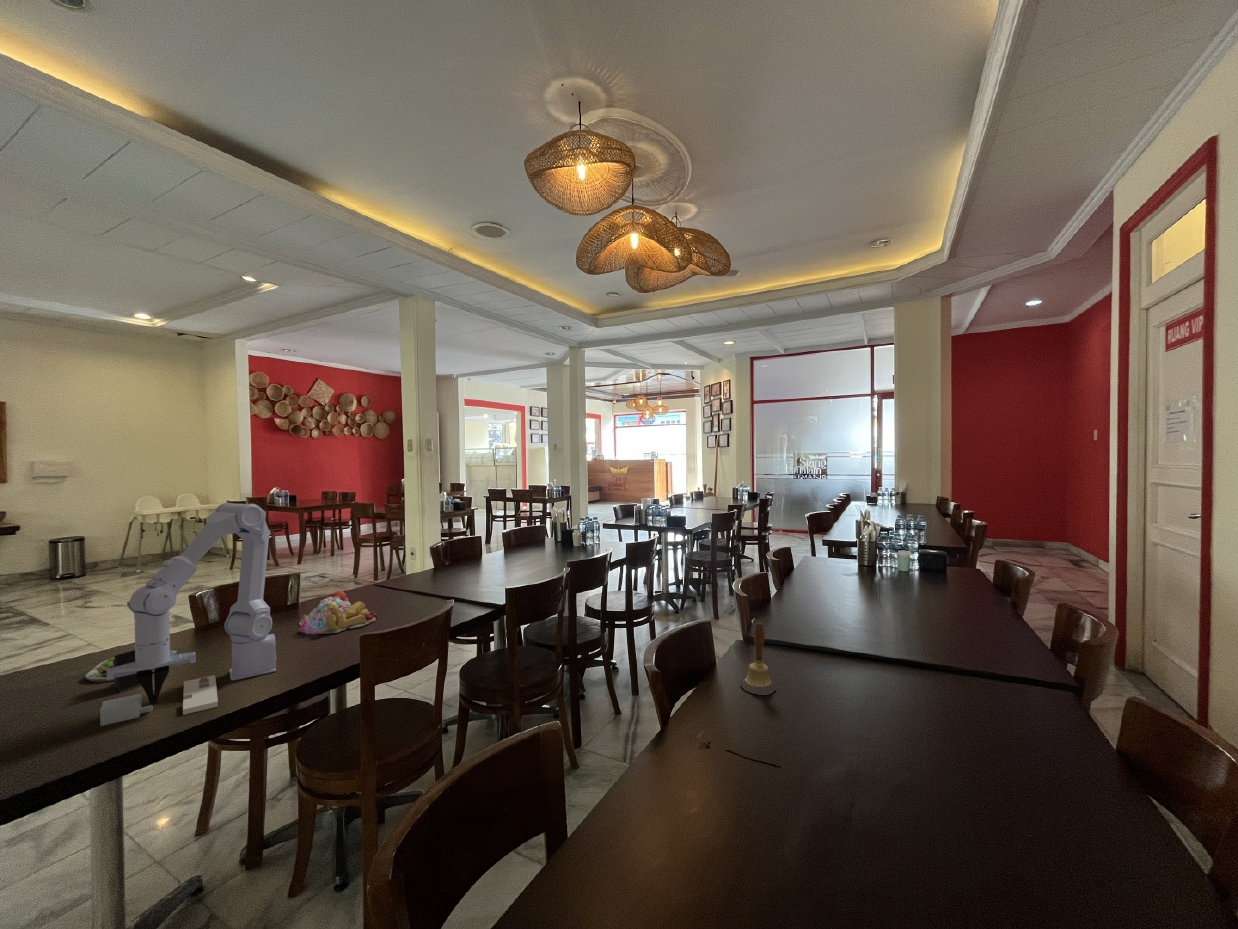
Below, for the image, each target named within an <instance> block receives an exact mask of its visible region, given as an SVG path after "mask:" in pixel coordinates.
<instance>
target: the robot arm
mask: <svg viewBox="0 0 1238 929" xmlns="http://www.w3.org/2000/svg"><path fill="white" fill-rule="evenodd" d="M266 516H267V511H265V510H263V508H261V507H260V506H259V505H258V504H256V503H232V502H223V503H222V504H220V505H218V506H217V507H216V509H215V510H214V511H213V512H212V513H211V514H209V516H208V519H207V522H206V524H205V525H204V526H203V528H202V529H201V530H200V531H199V532H198V533H197V535H196V536H195V537H194V538H193V540H192V541H191V542H190V543H189V545H188V546H187V548H185V550H184V551H183V553H181V555H178V556H177V555H176V556H173V557H170V559H168V560H167V559H166V560H164V561H163V563H162V564H161V566H162V567H161V568H160V569H159V570H158V571H157V573H156V574H154V576H153V577H152V578H151V579H150V580H148V581H146V583H145V586H141V587H139V588H138V589H136V590H135V591H134V592H133V593H132V594H131V596H130V599H129V601H127V602H126V605H127V608H128V609H129V610H130V611H131V612H132V613H133V618H134V650H135V662H132V663H128V664H125V665H121V666H117V667H113V668H108V669H107V671H106V677H107V680H111V679H114V678H116V677H121V676H126V675H131V674H136V673H137V680H138V682H139V683H140V684H141V687H142V689H143V690H144V692H145V695H146V696H147V699H148V703H149V705H148V706H151V705H155V704H158V703H159V697H160V693H161V690H162V687H163V684H164V682H165V681H166V679H167V677H168V675H169V673H170V667H175V666H180V665H184V664H195V663H196V661H197V660H196V659H197V658H196V651H192V652H186V653H185V652H184V653H182V654H175V655H170V650H171V639H170V638H171V636H170V635H171V634H170V610H171V609H172V608H173V607H174V606H175V605H176V603H177V596H178V594H179V591H180V590H181V589H182V588H183V587H184V585H186V583H187V582H188V581H189V580H190V579H191V578H192V576H194V574H195V573H196V572H197V570H198V567H197V563H198V562H199V561H200V559H202V557H204V555H205V554H207V552H208V551H210V549H211V548H213V546H214V545H216V543H217V542H218V541H220V539H221V538H222V537H224V536H228V535H232V534H236V535H237V536H238V537H240V539H242V541H243V542H242V550H241V551H242V553H241V561H240V568H239V570H240V571H239V582H238V592H237V601H236V602H234V603H233V604H232V605H231V606H230V608H229V613H228V616H227V617H226V620H225V621H224V630H225V632H226V633H227V635H230V640H231V668H230V669H229V676H230V681H232V682H233V681H238V680H242V679H247V678H251V677H257V676H260V675H261V676H262V675H266V674H268V673H269V674H270V673H274V672H276V671H277V647H276V645H277V644H276V636H275V633H270V632H271V630H272V627H273V619H272V616H271V607H270V606H269V605H268V604H267V602H266V601H265V600H264V594H265V585H266V584H265V583H266V574H267V573H266V572H267V563H268V562H267V561H268V552H269V540H270V531H269V530H270V529H269V527H268V525H267V522H266V521H267V520H266ZM269 633H270V634H269ZM152 670H154V672H152ZM153 681H154V682H153ZM153 686H154V687H153Z"/></svg>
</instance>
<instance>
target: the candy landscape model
mask: <svg viewBox="0 0 1238 929" xmlns="http://www.w3.org/2000/svg"><path fill="white" fill-rule="evenodd" d="M377 619H379V616H378V614H377V613H376V612H374V611H373V610H372V611H368V608H366V604H365V603H364V602H362V601H356V602H354V604H353V603H352V604H351V603H350V600H349V598H348V597H347V595H346V593H345V592H344V590H337V591H335V592H334V593H333V594H332V596H328V597H326V598H324V599H322V600H320V601H319V604H317V607H314V608H313V610H312V611H311V612H309V613H308V615H307V614H303V616H302V617H300V622H299V624H298V625H299V626H300V628H299V629H298V632H300V633H304V634H305V635H313V636H315V635H317V634H322V635H326V634H335V633H336V634H337V633H340V632H341V631H345V630H347V629H356V628H360V627H364V626H366V625H368V624H370V623H372V622H375V621H376V620H377Z"/></svg>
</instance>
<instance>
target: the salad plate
mask: <svg viewBox="0 0 1238 929" xmlns="http://www.w3.org/2000/svg"><path fill="white" fill-rule="evenodd" d="M185 652H186V650H180V651H177V650H174V649H173V650H171V649H170V655H175V654H184V653H185ZM113 659H115V658H114V656H113V657H111V658H108V659H106V660H104V661H102V662H100V663H99V664H97V665H96V666H95V667H94V668H92V669H91V670H89V671H88V672H86V674H85V675H84V678H85V679H86V680H88V681H91V682H95V683H108V681H109V682H115V678H114V679H111V680H107V676H106V677H102V676H101V675H102V673H104V672H107V669H108V668H113ZM103 671H104V672H103ZM101 672H102V673H101ZM152 673H154V670H152ZM99 675H100V676H101V677H100V676H99Z"/></svg>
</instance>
